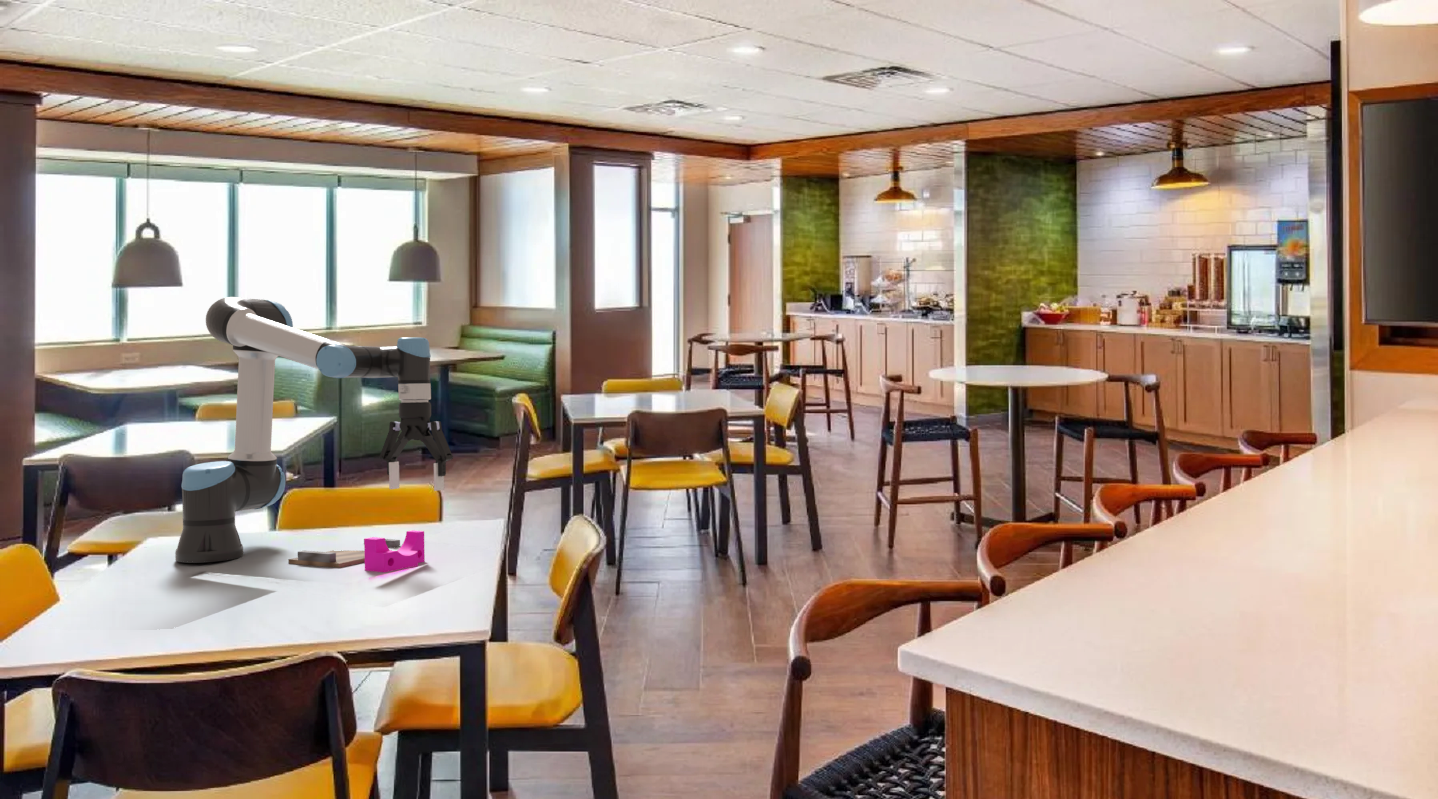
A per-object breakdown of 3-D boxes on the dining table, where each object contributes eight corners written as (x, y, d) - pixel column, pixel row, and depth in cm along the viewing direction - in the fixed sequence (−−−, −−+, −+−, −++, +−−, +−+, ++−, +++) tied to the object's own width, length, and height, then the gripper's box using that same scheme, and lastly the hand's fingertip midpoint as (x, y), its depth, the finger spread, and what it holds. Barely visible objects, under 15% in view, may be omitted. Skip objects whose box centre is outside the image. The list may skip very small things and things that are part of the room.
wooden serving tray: (288, 563, 254) (288, 550, 254) (360, 548, 276) (360, 537, 276) (339, 567, 248) (339, 554, 248) (409, 552, 269) (409, 540, 269)
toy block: (384, 573, 241) (383, 540, 241) (364, 571, 244) (364, 538, 244) (432, 563, 254) (431, 531, 254) (413, 561, 257) (412, 530, 257)
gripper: (363, 402, 258) (365, 489, 259) (446, 401, 248) (448, 492, 248) (385, 401, 265) (387, 486, 265) (466, 400, 255) (468, 489, 255)
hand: (416, 489), depth 257 cm, fingers open, 13 cm apart
